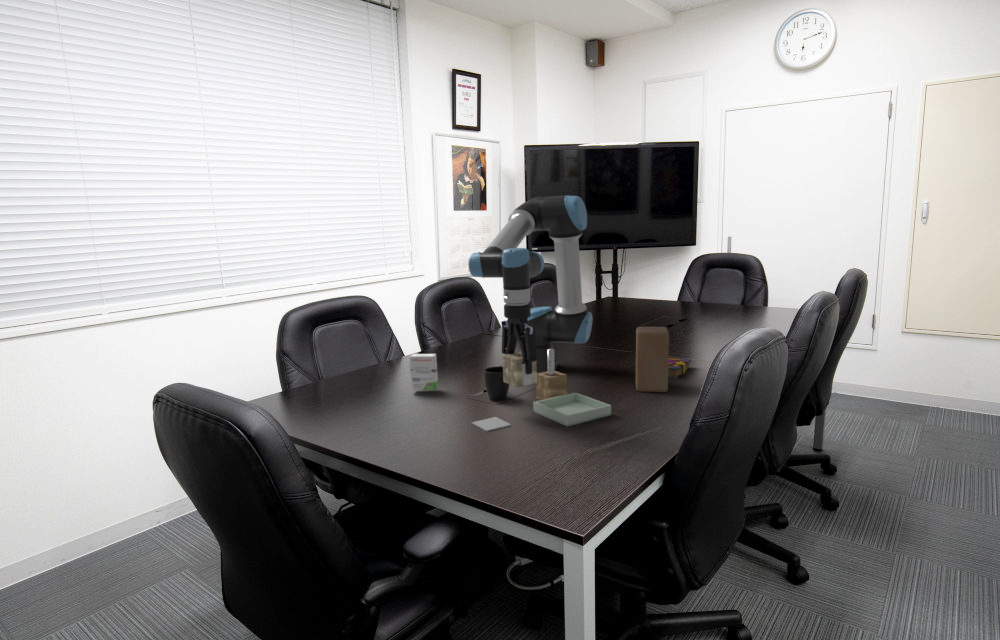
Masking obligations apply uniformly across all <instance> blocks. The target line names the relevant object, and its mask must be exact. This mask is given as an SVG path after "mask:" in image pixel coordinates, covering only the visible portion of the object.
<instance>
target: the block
mask: <svg viewBox="0 0 1000 640" xmlns="http://www.w3.org/2000/svg"><path fill="white" fill-rule="evenodd" d="M635 330H636V331H635V389H636V391H637V392H647V393H648V392H649V393H651V392H653V393H666V392H668V391H669V378H668V362H669V358H670V357H669V351H670V350H669V349H670V347H669V346H670V334H669V331H668V328H667V327H665V326H638V327H636V329H635Z"/></svg>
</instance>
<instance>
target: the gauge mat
mask: <svg viewBox="0 0 1000 640" xmlns="http://www.w3.org/2000/svg"><path fill="white" fill-rule="evenodd" d="M471 425H473V426H475V427H477V428H478V429H480V430H483V431H484V432H487V433H488V432H492V431H496V430H499V429H504V428H507V427H511V426H512V424H511V423H509V422H507V421H505V420H503V419H501V418H499V417H497V416H492V417H490V418H489V417H488V418H485V419H481V420H476V421H473V422H471Z"/></svg>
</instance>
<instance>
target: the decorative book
mask: <svg viewBox="0 0 1000 640" xmlns="http://www.w3.org/2000/svg"><path fill="white" fill-rule="evenodd" d="M691 362H692V359H690V358H676V357H669V362H668V379H676V378H677V379H679V378H678V376H679V375H680V376H681V375H684V374H686V371H688V370H689V368H690V363H691Z"/></svg>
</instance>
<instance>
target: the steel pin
mask: <svg viewBox="0 0 1000 640" xmlns="http://www.w3.org/2000/svg"><path fill="white" fill-rule="evenodd" d="M554 354H555V348H553V349H547V367H548V376H554V375H555V371H556V369H555V365H554Z"/></svg>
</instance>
